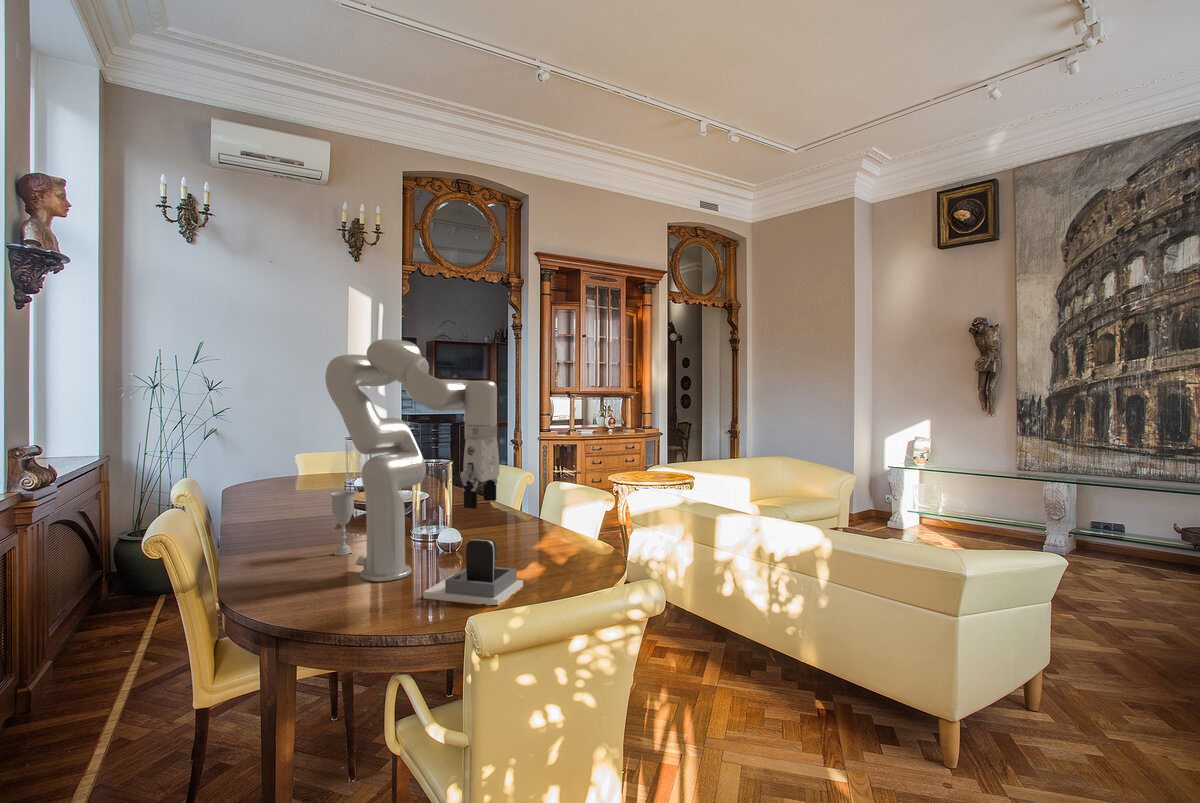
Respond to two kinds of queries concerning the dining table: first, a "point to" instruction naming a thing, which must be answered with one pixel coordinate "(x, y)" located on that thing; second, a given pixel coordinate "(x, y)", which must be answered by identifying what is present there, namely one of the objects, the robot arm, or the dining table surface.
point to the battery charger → (481, 560)
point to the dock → (476, 588)
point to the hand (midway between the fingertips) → (480, 504)
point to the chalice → (343, 515)
